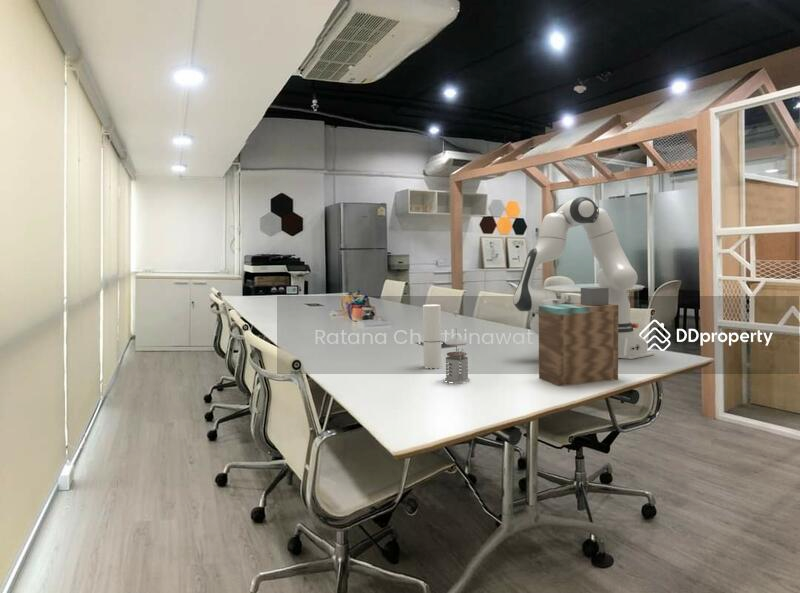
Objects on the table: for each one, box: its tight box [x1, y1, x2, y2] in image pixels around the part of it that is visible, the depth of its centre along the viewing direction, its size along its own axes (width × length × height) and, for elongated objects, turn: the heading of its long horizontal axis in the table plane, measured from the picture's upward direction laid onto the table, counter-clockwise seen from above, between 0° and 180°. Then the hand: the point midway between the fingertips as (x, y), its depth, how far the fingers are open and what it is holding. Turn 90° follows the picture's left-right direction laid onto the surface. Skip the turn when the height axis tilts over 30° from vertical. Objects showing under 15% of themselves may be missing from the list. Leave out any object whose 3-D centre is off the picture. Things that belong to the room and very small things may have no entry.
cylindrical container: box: [422, 303, 443, 369], centre depth 211 cm, size 7×7×25 cm
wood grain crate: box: [538, 304, 619, 387], centre depth 185 cm, size 24×12×26 cm, turn 107°
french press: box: [444, 310, 471, 384], centre depth 187 cm, size 10×12×25 cm
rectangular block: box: [560, 286, 609, 306], centre depth 191 cm, size 7×20×6 cm, turn 17°
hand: (574, 296), depth 196 cm, fingers closed on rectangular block, 4 cm apart
